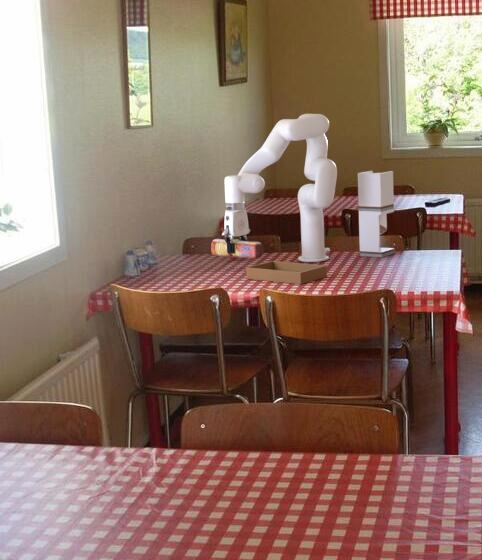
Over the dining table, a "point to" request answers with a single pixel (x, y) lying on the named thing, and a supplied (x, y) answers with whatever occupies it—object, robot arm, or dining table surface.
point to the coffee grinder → (374, 211)
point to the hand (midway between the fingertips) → (237, 251)
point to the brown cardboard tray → (286, 272)
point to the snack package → (237, 249)
